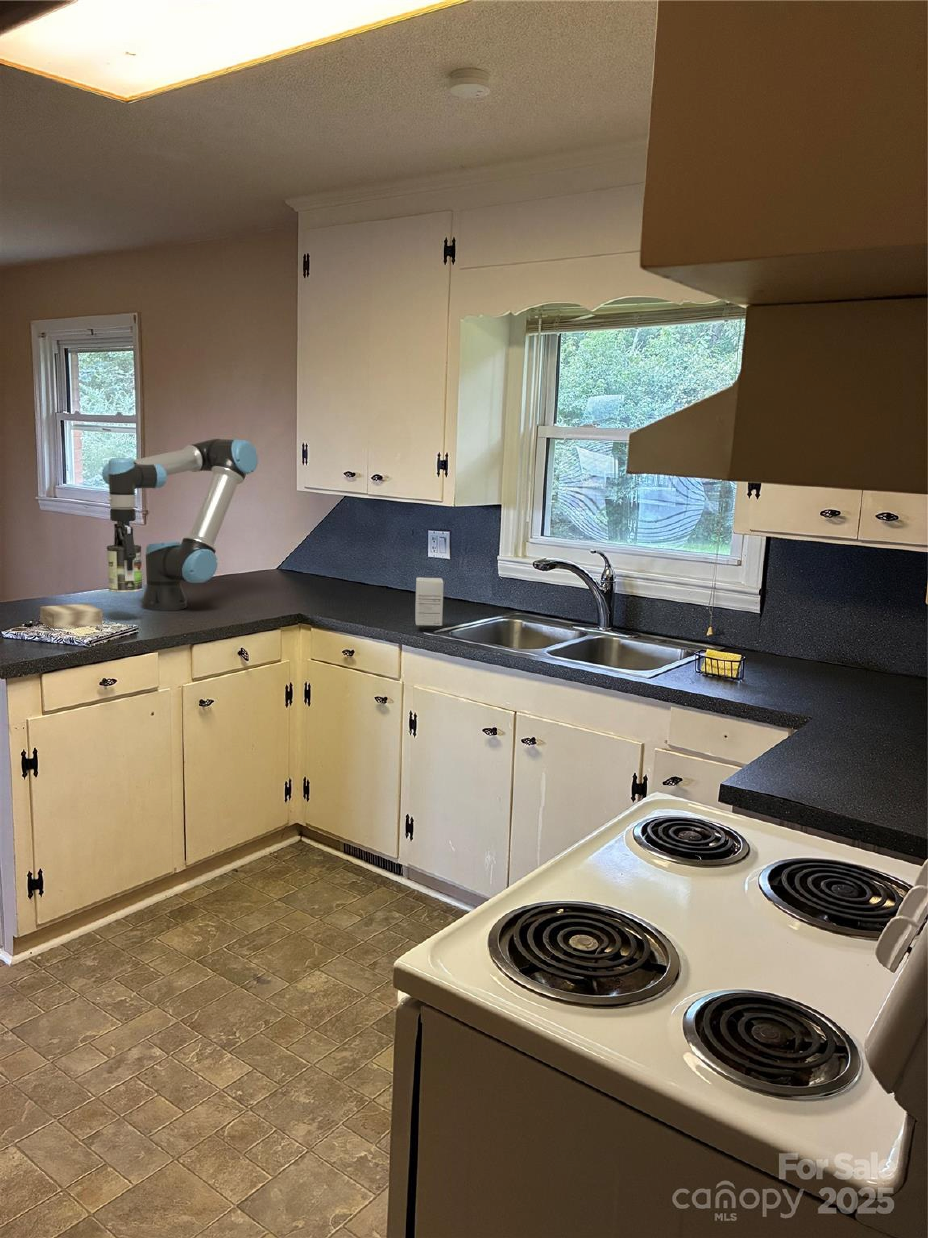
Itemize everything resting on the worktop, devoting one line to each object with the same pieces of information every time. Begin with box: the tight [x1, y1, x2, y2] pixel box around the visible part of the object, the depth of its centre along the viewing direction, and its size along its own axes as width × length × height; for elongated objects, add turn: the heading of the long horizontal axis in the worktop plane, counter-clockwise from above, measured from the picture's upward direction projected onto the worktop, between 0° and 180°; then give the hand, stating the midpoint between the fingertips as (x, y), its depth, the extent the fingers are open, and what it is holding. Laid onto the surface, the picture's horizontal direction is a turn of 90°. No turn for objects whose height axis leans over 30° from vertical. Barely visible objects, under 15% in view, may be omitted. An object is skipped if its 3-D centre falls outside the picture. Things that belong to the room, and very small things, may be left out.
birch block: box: [39, 603, 103, 630], centre depth 286 cm, size 14×14×6 cm
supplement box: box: [414, 576, 444, 626], centre depth 313 cm, size 9×9×15 cm
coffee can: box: [106, 544, 144, 594], centre depth 297 cm, size 10×10×14 cm
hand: (125, 578), depth 297 cm, fingers closed on coffee can, 10 cm apart
